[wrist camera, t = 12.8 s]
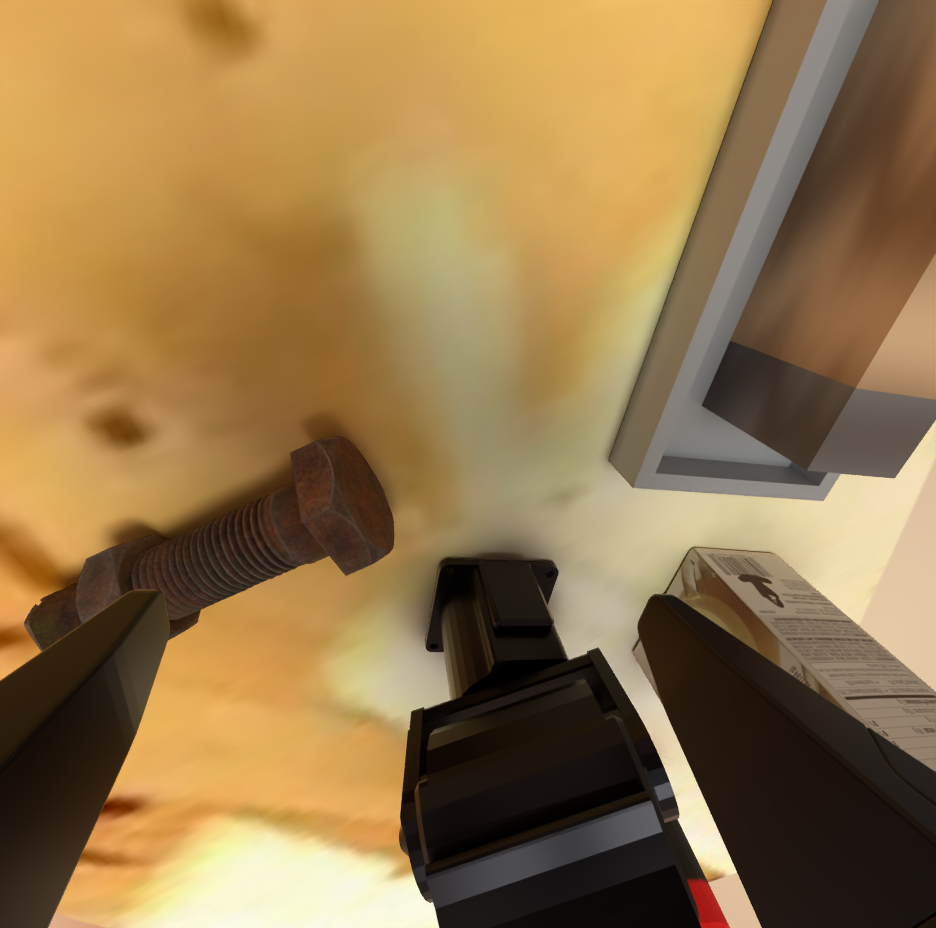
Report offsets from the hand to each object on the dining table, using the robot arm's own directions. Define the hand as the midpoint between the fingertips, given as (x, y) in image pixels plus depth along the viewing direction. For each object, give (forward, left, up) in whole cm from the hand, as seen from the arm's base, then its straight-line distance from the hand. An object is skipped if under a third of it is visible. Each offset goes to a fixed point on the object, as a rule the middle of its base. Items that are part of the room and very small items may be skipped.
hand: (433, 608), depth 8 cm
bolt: (-8, +7, -12) cm, 17 cm away
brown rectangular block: (+8, -15, -11) cm, 21 cm away
